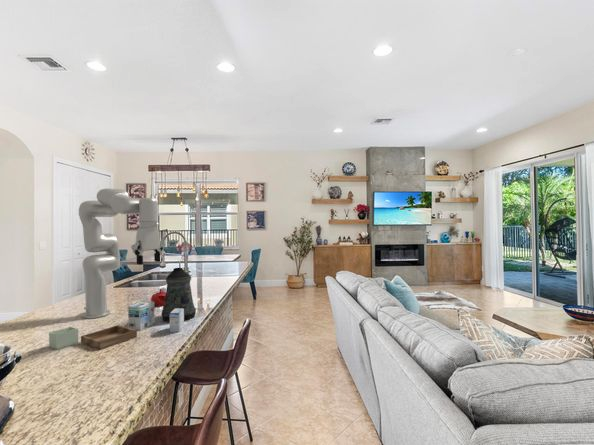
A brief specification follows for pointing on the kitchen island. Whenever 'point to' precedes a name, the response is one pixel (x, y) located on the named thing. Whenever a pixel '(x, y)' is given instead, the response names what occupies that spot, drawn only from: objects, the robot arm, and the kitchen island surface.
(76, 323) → the kitchen island surface
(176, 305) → the beer stein
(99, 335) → the crate
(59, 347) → the small crate
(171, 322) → the medicine box
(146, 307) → the light bulb box
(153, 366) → the kitchen island surface
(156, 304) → the pomegranate
